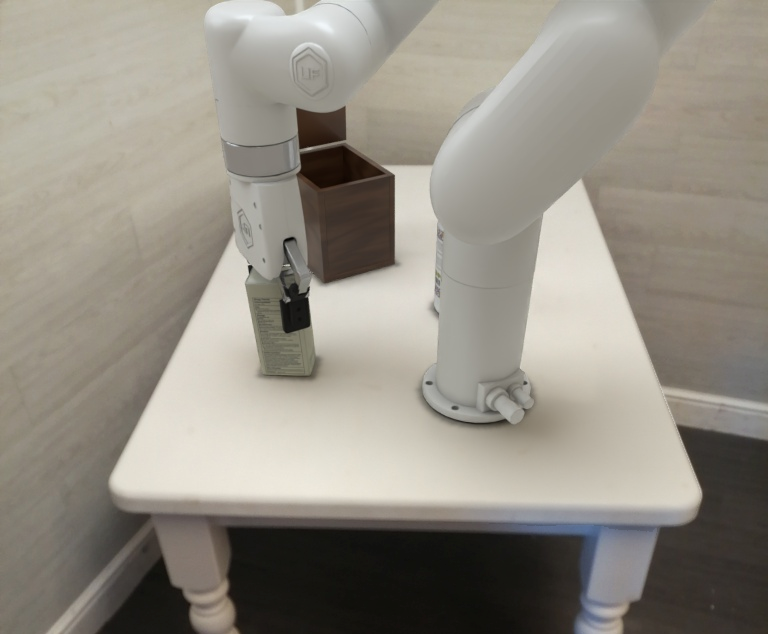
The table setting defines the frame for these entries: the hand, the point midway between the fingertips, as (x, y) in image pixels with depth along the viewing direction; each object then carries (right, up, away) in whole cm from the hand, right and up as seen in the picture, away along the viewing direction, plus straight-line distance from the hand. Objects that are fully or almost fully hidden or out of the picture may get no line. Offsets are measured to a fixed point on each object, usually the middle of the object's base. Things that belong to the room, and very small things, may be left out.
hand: (280, 310), depth 84 cm
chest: (+5, +16, +27) cm, 32 cm away
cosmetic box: (0, -5, +6) cm, 8 cm away
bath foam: (+22, +4, +15) cm, 27 cm away
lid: (+1, +35, +16) cm, 38 cm away
